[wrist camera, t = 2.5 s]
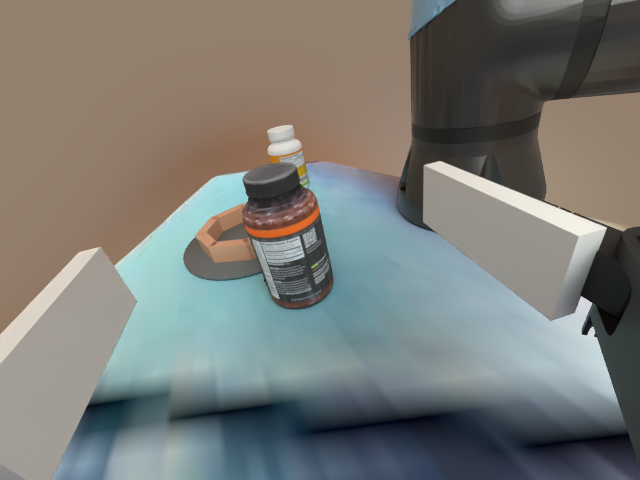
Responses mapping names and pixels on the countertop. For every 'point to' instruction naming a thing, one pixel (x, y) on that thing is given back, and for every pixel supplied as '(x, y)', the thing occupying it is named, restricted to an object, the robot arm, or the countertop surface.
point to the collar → (229, 248)
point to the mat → (209, 270)
